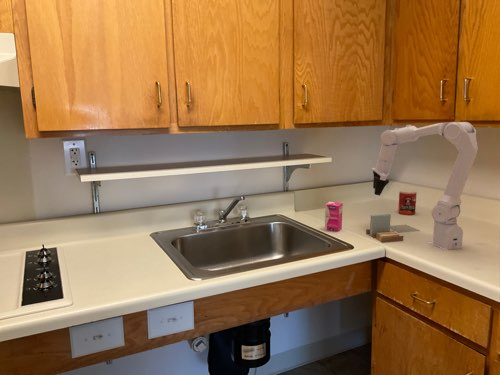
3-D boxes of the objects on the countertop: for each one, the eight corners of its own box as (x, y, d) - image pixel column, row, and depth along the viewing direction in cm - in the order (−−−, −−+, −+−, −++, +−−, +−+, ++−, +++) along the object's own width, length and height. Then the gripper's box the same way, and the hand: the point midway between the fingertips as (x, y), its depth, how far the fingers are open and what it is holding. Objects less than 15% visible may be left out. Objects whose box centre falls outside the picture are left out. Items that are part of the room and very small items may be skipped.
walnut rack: (403, 242, 150) (403, 236, 149) (382, 244, 148) (382, 237, 148) (385, 233, 161) (385, 227, 161) (365, 235, 159) (366, 229, 159)
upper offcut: (399, 237, 151) (399, 234, 151) (382, 238, 149) (382, 236, 149) (393, 234, 155) (393, 231, 154) (376, 235, 153) (376, 233, 153)
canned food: (398, 214, 192) (399, 192, 190) (397, 211, 199) (399, 189, 198) (415, 215, 190) (417, 192, 188) (414, 212, 197) (415, 189, 195)
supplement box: (324, 231, 165) (324, 204, 163) (328, 228, 170) (329, 201, 168) (338, 233, 162) (339, 205, 160) (342, 229, 167) (343, 202, 165)
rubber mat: (420, 232, 163) (420, 230, 163) (398, 234, 160) (398, 232, 160) (405, 225, 172) (405, 224, 172) (384, 227, 170) (384, 226, 170)
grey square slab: (389, 234, 157) (390, 214, 156) (371, 236, 156) (372, 216, 154) (387, 233, 159) (388, 213, 158) (369, 235, 157) (370, 215, 156)
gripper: (373, 153, 167) (365, 184, 172) (376, 162, 154) (367, 195, 158) (391, 157, 166) (382, 187, 171) (395, 166, 152) (385, 199, 157)
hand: (376, 191), depth 164 cm, fingers open, 7 cm apart
